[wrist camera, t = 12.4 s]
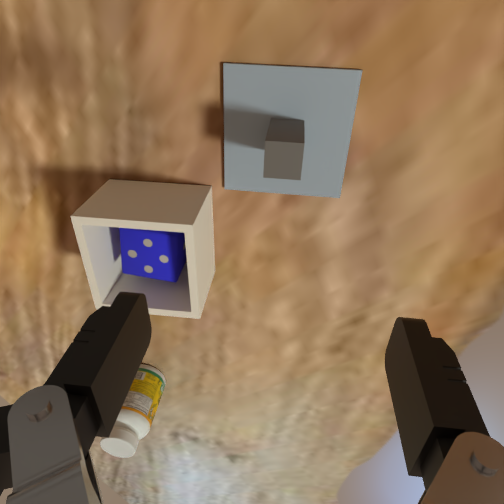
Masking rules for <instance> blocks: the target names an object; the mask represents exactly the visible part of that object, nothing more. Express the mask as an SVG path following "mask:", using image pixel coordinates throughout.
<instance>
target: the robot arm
mask: <svg viewBox="0 0 504 504" xmlns="http://www.w3.org/2000/svg"><path fill="white" fill-rule="evenodd" d="M150 339H151V322H150V316H149V311H148V305H147V300H146V296H145V294H143V293H133V292H119V293H118V295H117V296H116V298H115V299H114V301H113V303H112V304H111V306H102V307H100V308H99V309H98V310H97V311H95V312H94V313H93V314H91V315H90V316H89V317H88V319H87V320H86V322H85V323H84V325H83V326H82V328H81V331H80V332H78V334H77V335H76V337H75V338H74V342H73V343H71V345H70V346H69V348H68V349H67V351H66V352H65V354H64V355H63V357H62V358H61V360H60V361H59V363H58V364H57V366H56V367H55V369H54V370H53V372H52V374H51V375H50V377H49V378H48V380H47V381H46V382H45V384H44V385H43V386H40V387H37V388H34V389H32V390H30V391H28V392H26V393H25V394H24V395H22V396H21V397H20V398H19V399H18V400H17V401H16V402H15V403H14V404H12V405H8V406H3V407H0V495H1V494H2V492H3V490H4V489H7V488H12V487H13V492H12V494H10V495H9V496H8V497H7V500H6V504H104V503H103V499H102V495H101V491H100V487H99V483H98V479H97V475H96V471H95V467H94V463H93V459H92V455H91V452H90V447H91V445H92V443H93V441H94V438H95V436H99V437H107V438H109V436H110V433H111V431H112V429H113V426H114V424H115V422H116V420H117V417H118V415H119V413H120V410H121V408H122V406H123V403H124V401H125V399H126V397H127V394H128V392H129V390H130V387H131V385H132V383H133V380H134V378H135V376H136V374H137V371H138V369H139V367H140V364H141V362H142V360H143V357H144V355H145V353H146V351H147V348H148V346H149V343H150ZM385 370H386V374H387V379H388V384H389V388H390V393H391V397H392V402H393V407H394V411H395V416H396V420H397V425H398V429H399V434H400V438H401V443H402V447H403V452H404V457H405V461H406V466H407V471H408V475H409V476H418V477H422V478H423V481H424V486H425V491H424V493H423V495H422V497H421V498H420V500H419V502H418V504H504V447H503V446H502V445H501V444H500V443H499V442H497V441H496V440H494V439H493V438H491V437H490V435H489V433H488V431H487V429H486V426H485V424H484V422H483V419H482V417H481V414H480V412H479V410H478V407H477V405H476V402H475V400H474V398H473V395H472V393H471V390H470V388H469V386H468V384H466V378H465V376H464V374H463V372H462V371H461V367H460V364H459V362H458V359H457V357H456V355H455V352H454V351H453V350H452V349H451V348H450V347H449V346H448V345H447V344H446V342H445V341H444V340H443V339H442V338H434V337H431V334H430V331H429V329H428V326H427V323H426V322H425V320H423V319H414V318H403V317H398V318H397V319H396V321H395V324H394V327H393V330H392V333H391V336H390V339H389V343H388V346H387V349H386V353H385Z"/></svg>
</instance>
